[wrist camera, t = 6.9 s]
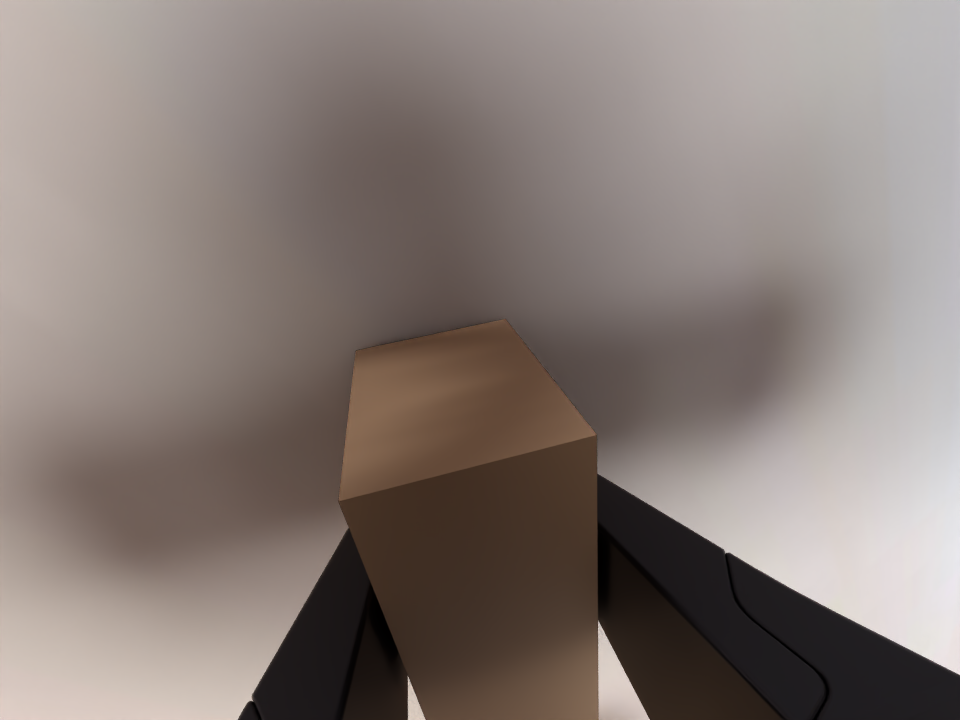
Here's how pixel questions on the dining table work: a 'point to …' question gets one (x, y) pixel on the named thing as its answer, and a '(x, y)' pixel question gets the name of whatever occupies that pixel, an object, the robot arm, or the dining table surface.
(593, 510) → the batten
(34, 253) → the dining table surface
